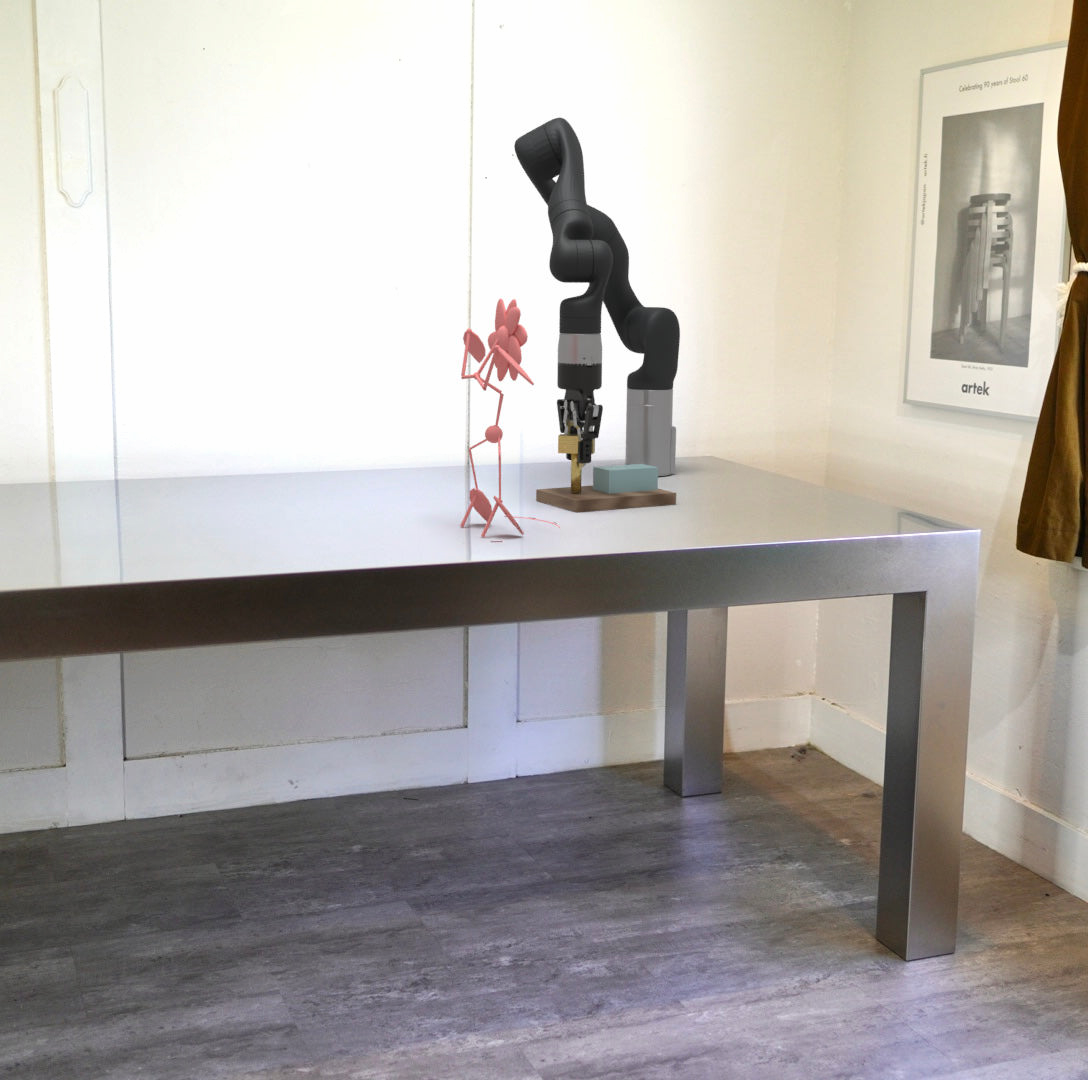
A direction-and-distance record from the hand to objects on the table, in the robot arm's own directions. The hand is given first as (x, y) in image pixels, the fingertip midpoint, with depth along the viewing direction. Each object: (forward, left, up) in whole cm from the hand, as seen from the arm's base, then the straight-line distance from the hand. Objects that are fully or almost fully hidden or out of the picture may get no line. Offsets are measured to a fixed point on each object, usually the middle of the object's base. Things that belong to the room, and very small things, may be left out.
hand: (578, 460), depth 229 cm
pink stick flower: (+21, +17, -8) cm, 28 cm away
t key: (-1, -2, -5) cm, 6 cm away
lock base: (-6, 0, -8) cm, 10 cm away
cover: (-10, 0, -6) cm, 11 cm away
